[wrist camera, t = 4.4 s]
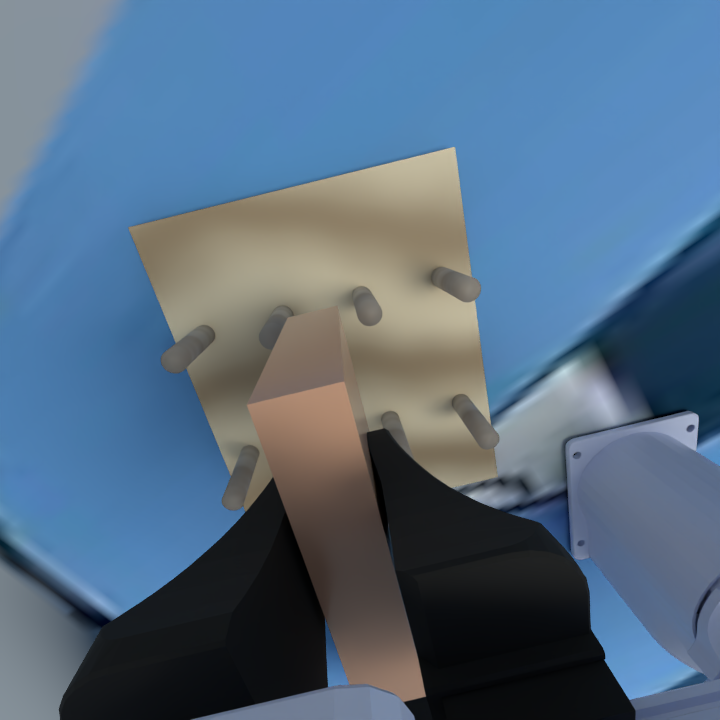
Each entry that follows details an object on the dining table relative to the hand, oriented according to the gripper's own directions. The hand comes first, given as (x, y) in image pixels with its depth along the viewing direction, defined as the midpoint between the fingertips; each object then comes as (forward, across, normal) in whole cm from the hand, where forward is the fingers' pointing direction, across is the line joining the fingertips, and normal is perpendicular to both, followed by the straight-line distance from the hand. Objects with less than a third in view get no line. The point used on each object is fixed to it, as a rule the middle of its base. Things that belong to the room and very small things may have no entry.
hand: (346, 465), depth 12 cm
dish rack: (+9, 0, 0) cm, 9 cm away
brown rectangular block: (+3, 0, 0) cm, 3 cm away
